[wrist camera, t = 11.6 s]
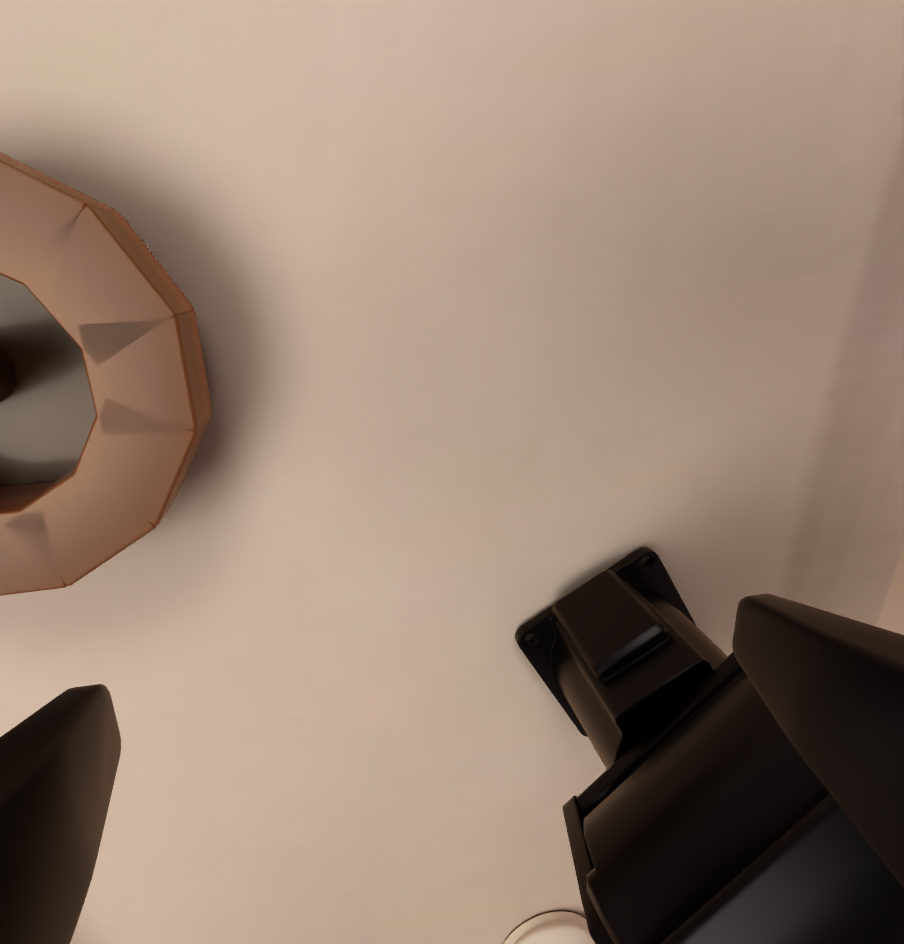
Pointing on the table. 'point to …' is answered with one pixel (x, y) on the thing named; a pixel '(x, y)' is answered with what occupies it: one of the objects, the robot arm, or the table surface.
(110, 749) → the robot arm
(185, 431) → the ring
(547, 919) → the chess piece
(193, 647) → the table surface
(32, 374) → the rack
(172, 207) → the table surface
